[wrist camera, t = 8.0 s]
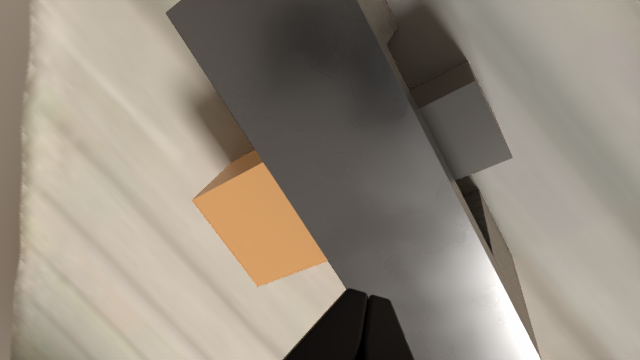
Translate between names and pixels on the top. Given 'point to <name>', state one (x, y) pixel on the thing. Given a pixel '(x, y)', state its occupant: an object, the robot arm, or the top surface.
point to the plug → (282, 220)
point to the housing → (363, 167)
